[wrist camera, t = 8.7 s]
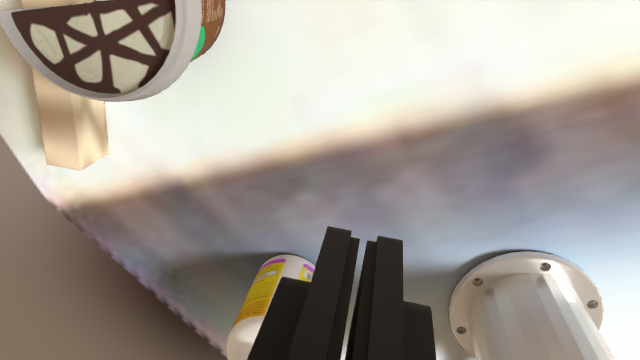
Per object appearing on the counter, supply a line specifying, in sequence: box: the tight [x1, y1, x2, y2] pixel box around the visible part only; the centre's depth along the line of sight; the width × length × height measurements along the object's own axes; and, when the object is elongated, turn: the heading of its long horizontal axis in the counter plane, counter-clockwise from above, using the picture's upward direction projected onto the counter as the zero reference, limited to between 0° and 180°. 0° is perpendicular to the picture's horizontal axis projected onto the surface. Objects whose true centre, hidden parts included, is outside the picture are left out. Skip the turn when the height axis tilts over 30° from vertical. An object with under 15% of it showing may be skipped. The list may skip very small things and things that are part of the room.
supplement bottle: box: [226, 255, 315, 360], centre depth 37 cm, size 7×7×13 cm
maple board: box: [21, 0, 109, 171], centre depth 33 cm, size 22×3×4 cm, turn 173°
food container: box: [0, 0, 225, 102], centre depth 30 cm, size 12×6×10 cm, turn 96°
